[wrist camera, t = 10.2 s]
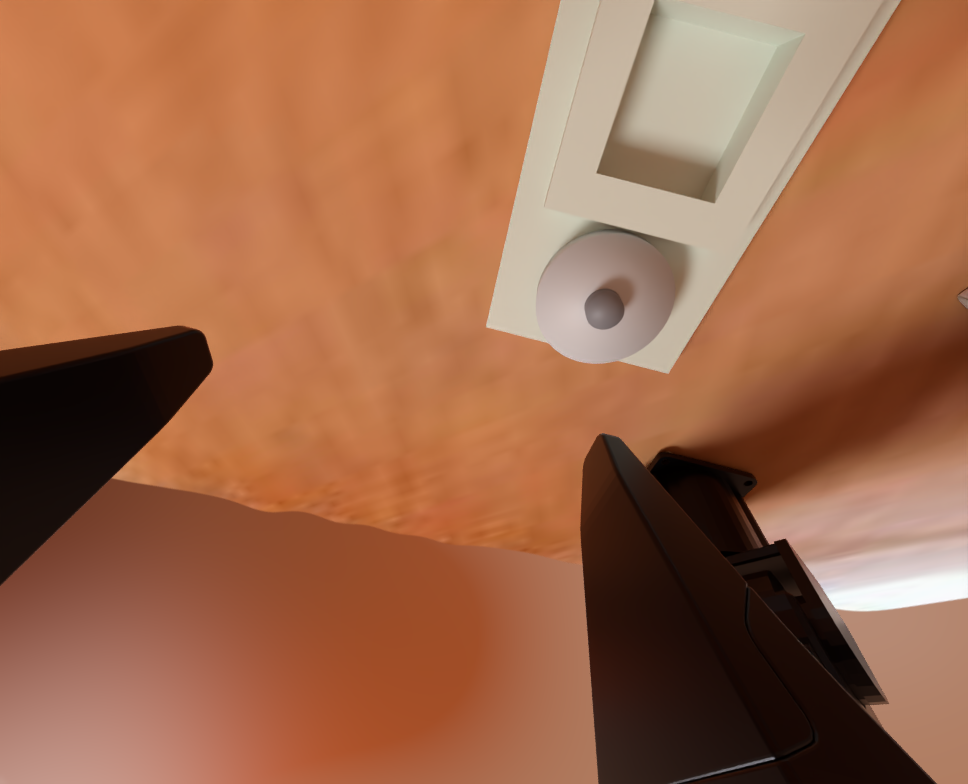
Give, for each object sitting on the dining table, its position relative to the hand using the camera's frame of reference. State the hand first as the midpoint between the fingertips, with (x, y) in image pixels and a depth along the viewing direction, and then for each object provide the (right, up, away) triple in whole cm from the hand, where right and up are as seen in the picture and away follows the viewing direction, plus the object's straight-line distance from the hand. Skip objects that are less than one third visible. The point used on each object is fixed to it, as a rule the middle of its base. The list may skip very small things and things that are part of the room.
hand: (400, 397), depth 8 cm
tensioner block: (+8, +8, +7) cm, 14 cm away
